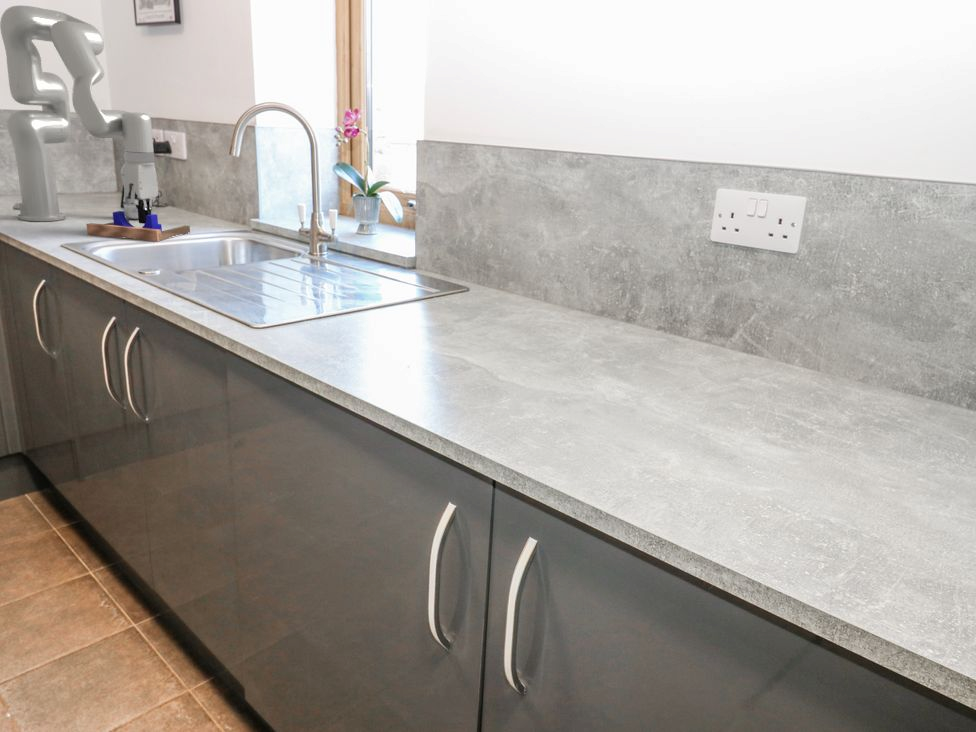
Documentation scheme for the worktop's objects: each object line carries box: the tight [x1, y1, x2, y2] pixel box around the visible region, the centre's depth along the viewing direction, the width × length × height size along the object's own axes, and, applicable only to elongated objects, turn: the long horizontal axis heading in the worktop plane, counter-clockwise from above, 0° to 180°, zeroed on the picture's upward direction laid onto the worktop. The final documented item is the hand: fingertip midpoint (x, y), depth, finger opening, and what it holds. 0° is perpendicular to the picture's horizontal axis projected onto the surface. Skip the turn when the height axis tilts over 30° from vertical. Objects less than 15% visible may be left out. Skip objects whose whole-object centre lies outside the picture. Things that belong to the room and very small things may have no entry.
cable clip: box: [112, 210, 163, 231], centre depth 214 cm, size 12×4×6 cm, turn 80°
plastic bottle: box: [120, 153, 138, 221], centre depth 235 cm, size 6×7×20 cm
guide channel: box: [85, 219, 191, 242], centre depth 214 cm, size 21×17×3 cm
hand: (145, 223), depth 216 cm, fingers closed
